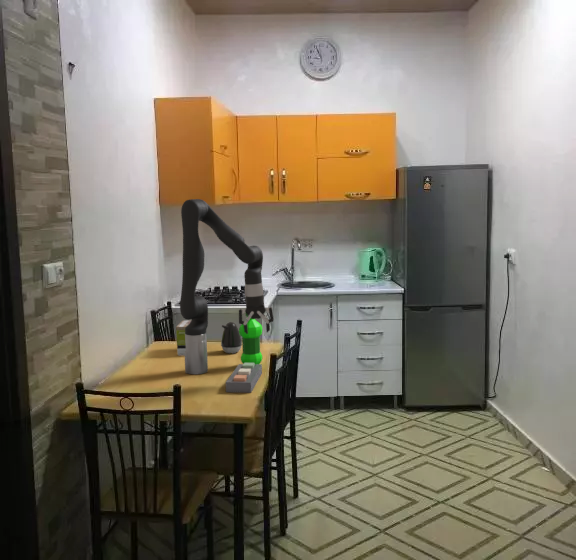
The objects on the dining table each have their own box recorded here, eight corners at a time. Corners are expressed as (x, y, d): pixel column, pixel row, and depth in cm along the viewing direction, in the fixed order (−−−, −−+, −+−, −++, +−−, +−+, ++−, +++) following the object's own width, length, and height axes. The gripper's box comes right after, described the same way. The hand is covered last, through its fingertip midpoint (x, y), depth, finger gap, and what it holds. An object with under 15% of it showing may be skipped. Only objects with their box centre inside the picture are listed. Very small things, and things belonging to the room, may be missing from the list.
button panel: (226, 392, 237) (225, 382, 236) (239, 373, 262) (239, 364, 262) (251, 392, 235) (250, 382, 235) (262, 373, 261) (261, 364, 260)
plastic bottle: (238, 369, 268) (236, 313, 265) (243, 362, 278) (241, 309, 275) (260, 369, 267) (259, 313, 264) (264, 363, 277) (263, 309, 274)
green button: (242, 372, 255) (242, 365, 255) (244, 369, 260) (244, 362, 259) (252, 372, 255) (252, 365, 254) (254, 369, 259) (254, 362, 259)
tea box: (183, 348, 308) (182, 319, 306) (203, 348, 308) (201, 319, 306) (176, 355, 293) (175, 326, 291) (197, 355, 293) (196, 325, 291)
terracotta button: (233, 385, 238) (233, 378, 237) (236, 382, 242) (235, 374, 242) (244, 386, 237) (244, 378, 237) (246, 382, 242) (246, 374, 241)
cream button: (238, 379, 247) (238, 371, 246) (240, 375, 251) (240, 368, 251) (249, 379, 246) (248, 371, 246) (250, 376, 250) (250, 368, 250)
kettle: (216, 352, 298) (215, 322, 296) (233, 348, 305) (232, 319, 303) (229, 356, 291) (228, 325, 289) (246, 352, 298) (245, 321, 296)
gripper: (271, 291, 252) (274, 329, 255) (237, 294, 253) (240, 332, 255) (271, 294, 245) (274, 333, 247) (236, 297, 245) (239, 336, 247)
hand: (257, 332), depth 251 cm, fingers open, 8 cm apart
